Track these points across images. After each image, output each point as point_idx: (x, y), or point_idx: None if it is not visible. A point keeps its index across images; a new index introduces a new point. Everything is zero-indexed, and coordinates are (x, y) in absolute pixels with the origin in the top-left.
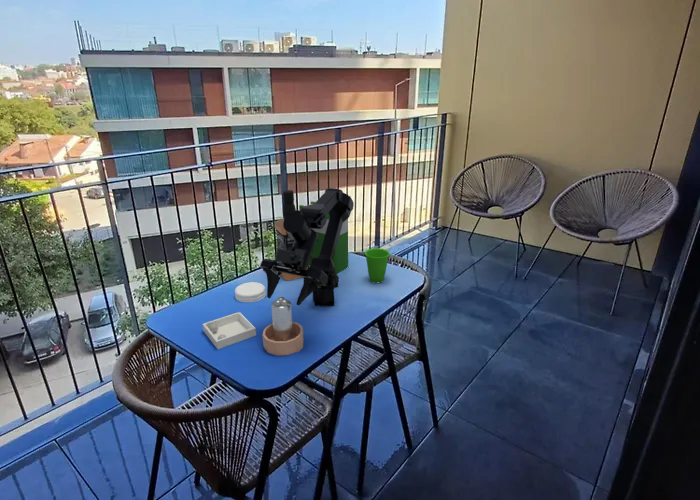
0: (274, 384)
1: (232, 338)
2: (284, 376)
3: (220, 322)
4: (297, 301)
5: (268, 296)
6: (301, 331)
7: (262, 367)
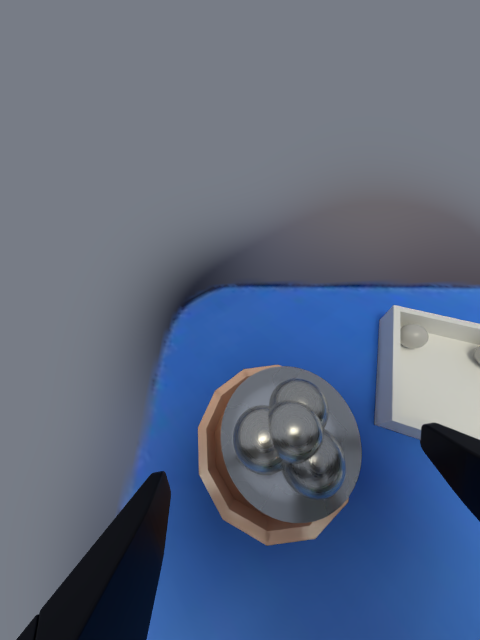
0: (187, 316)
1: (389, 346)
2: (183, 343)
3: None
4: (150, 485)
5: (426, 426)
6: (211, 487)
7: (246, 337)
